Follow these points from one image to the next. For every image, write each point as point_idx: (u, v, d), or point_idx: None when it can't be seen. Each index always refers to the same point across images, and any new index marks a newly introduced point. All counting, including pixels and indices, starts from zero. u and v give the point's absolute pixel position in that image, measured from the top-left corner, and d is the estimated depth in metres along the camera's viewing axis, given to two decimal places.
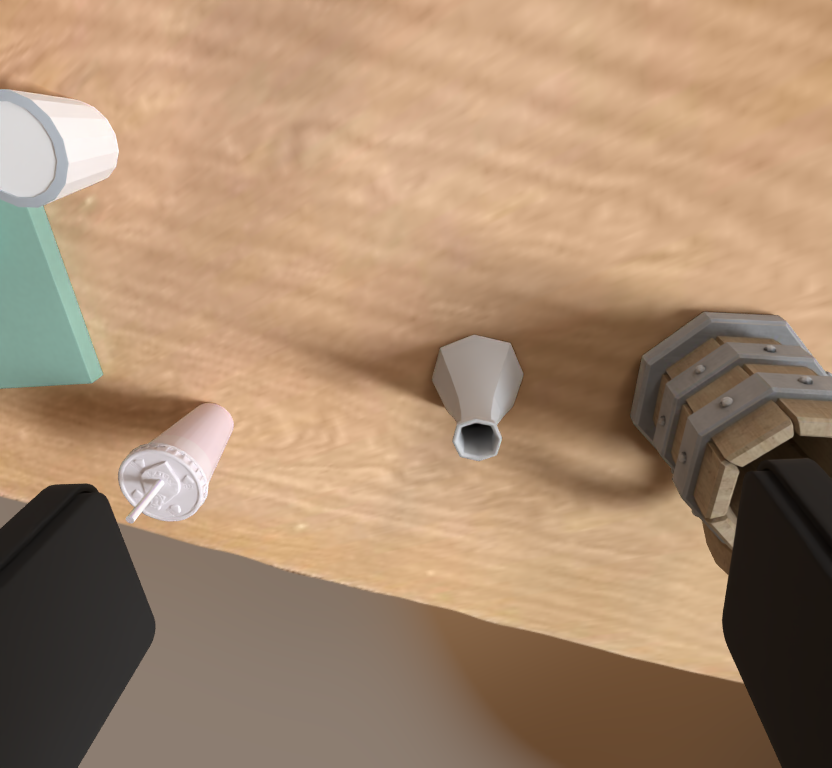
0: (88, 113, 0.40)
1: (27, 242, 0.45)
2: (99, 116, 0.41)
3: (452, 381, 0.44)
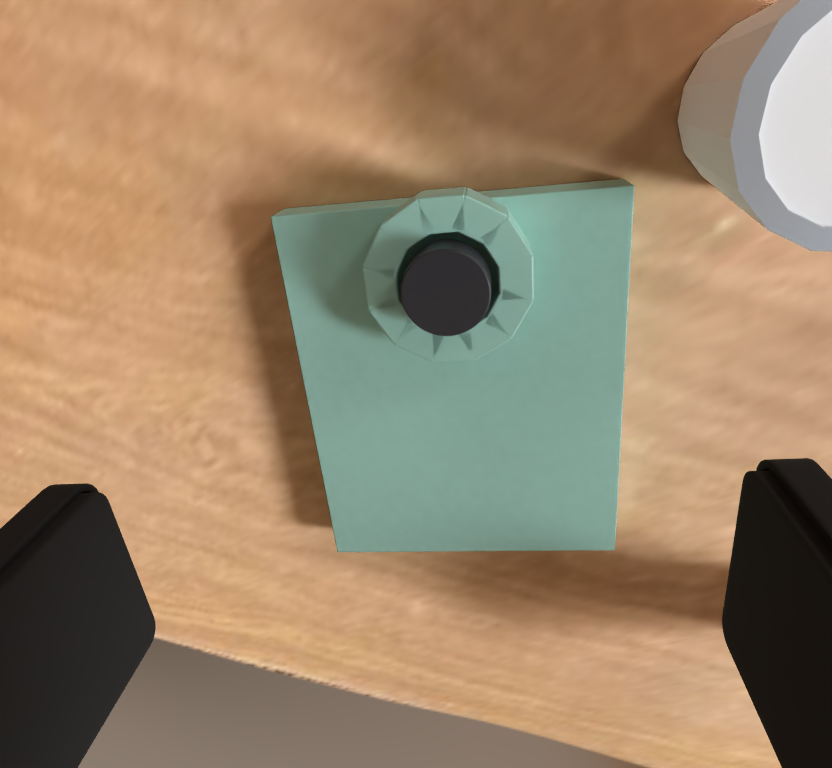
0: None
1: (600, 307, 0.23)
2: None
3: None
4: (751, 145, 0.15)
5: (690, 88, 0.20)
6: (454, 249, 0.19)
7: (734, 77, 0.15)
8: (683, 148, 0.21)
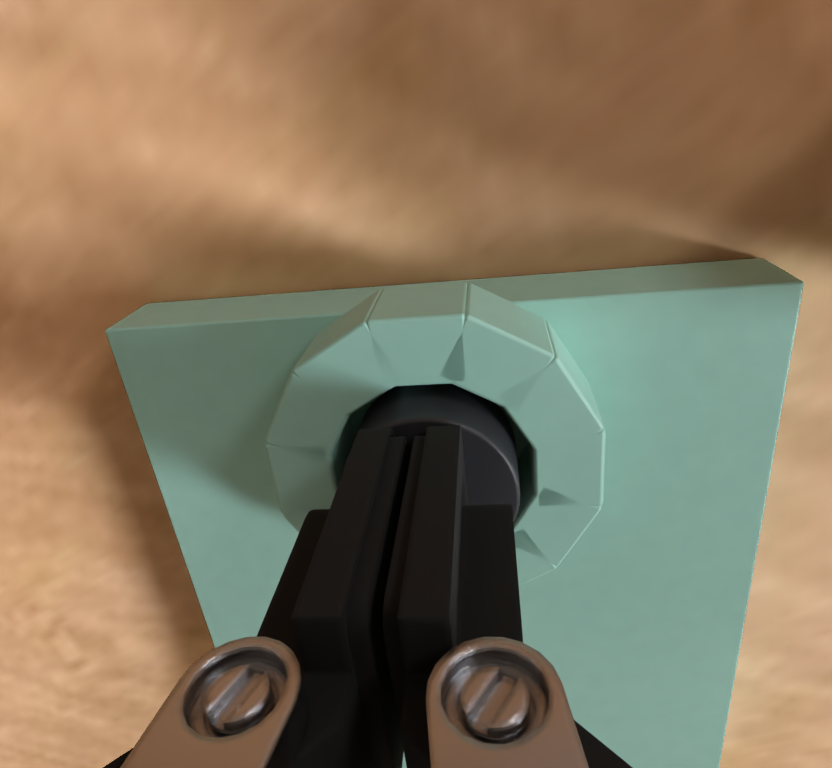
0: None
1: (716, 491, 0.12)
2: None
3: None
4: None
5: None
6: (446, 418, 0.09)
7: None
8: None
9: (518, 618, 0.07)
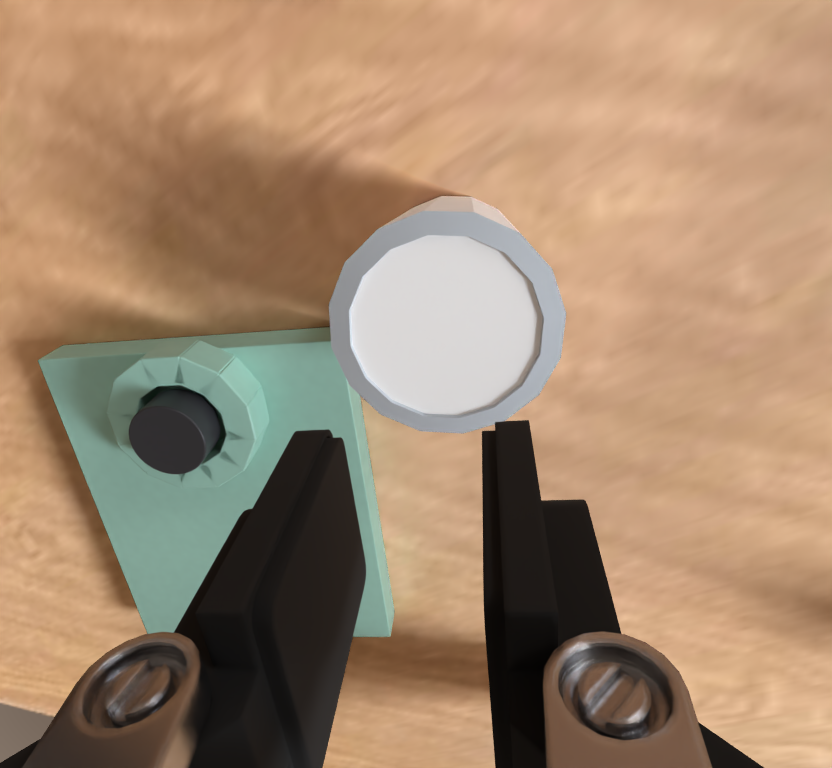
0: None
1: (333, 436, 0.25)
2: None
3: None
4: (348, 354, 0.18)
5: None
6: (167, 406, 0.22)
7: None
8: None
9: (613, 613, 0.07)
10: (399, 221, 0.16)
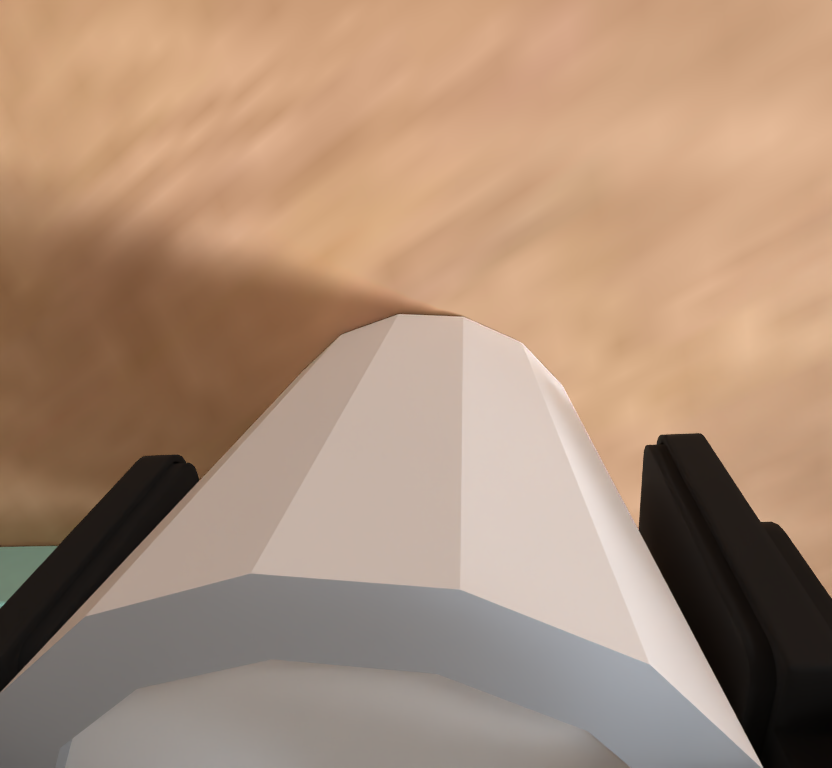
0: (568, 412, 0.09)
1: None
2: (562, 393, 0.10)
3: None
4: None
5: None
6: None
7: None
8: None
9: None
10: (162, 599, 0.04)
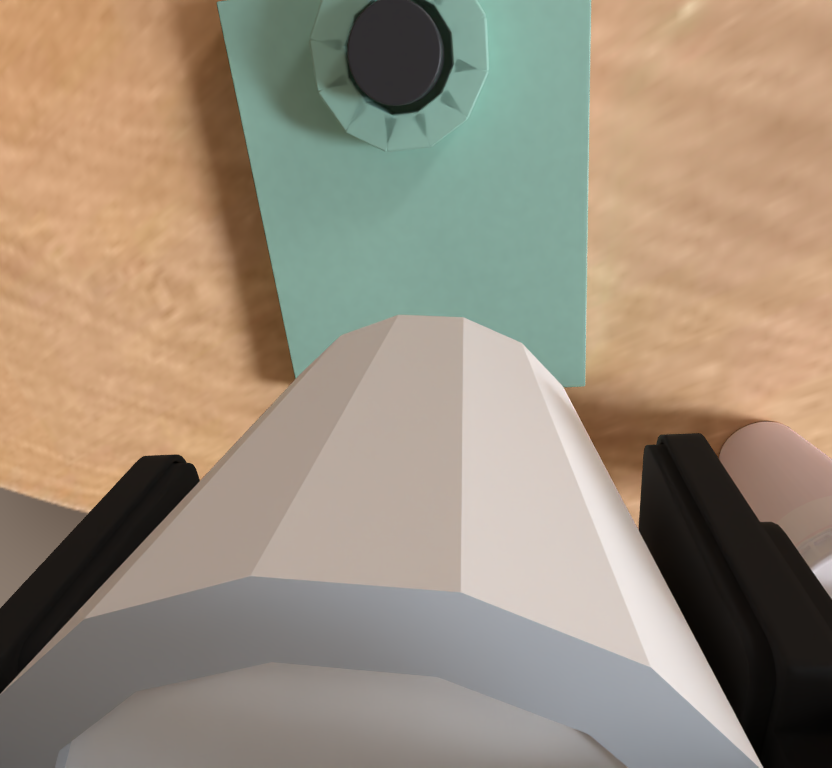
0: (568, 413, 0.09)
1: (561, 96, 0.22)
2: (562, 393, 0.10)
3: None
4: None
5: None
6: None
7: None
8: None
9: None
10: (161, 602, 0.04)
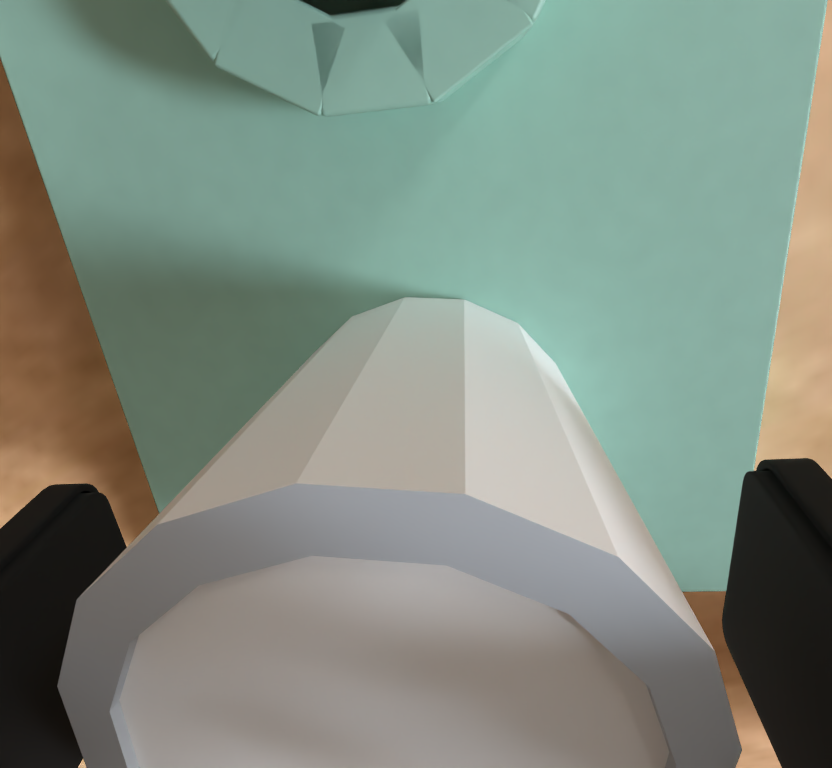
0: (559, 383, 0.10)
1: None
2: (555, 368, 0.11)
3: None
4: None
5: None
6: None
7: None
8: None
9: None
10: (221, 507, 0.05)
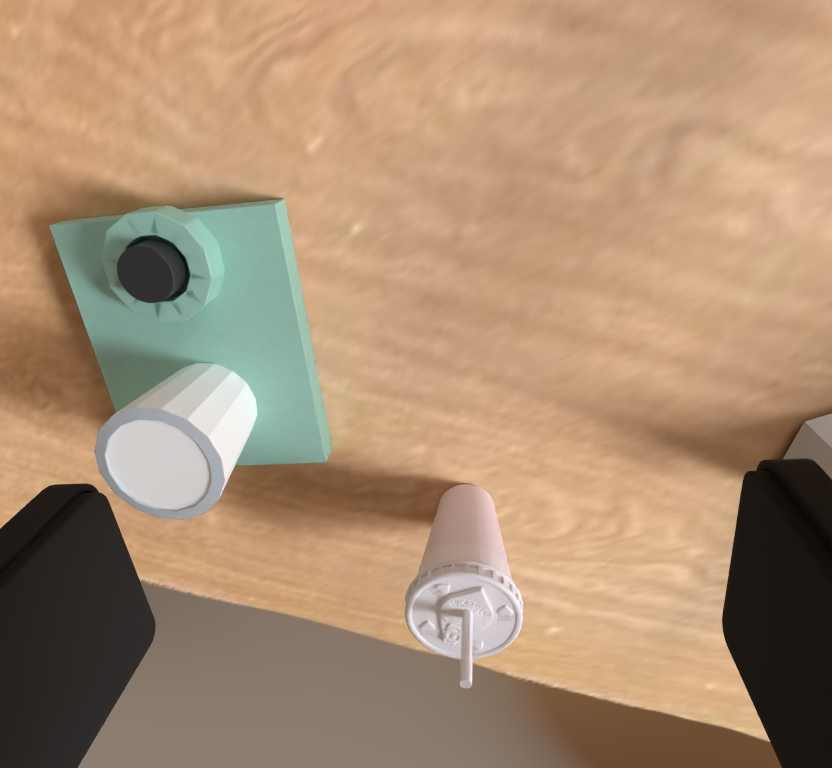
0: (232, 390, 0.34)
1: (273, 285, 0.33)
2: (240, 385, 0.36)
3: None
4: (109, 476, 0.31)
5: None
6: (144, 246, 0.30)
7: None
8: None
9: None
10: (123, 412, 0.30)
